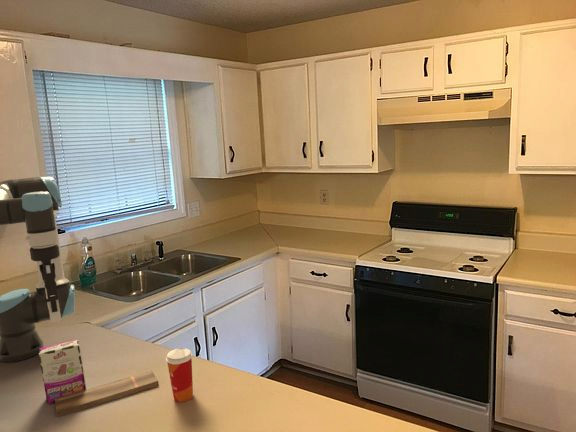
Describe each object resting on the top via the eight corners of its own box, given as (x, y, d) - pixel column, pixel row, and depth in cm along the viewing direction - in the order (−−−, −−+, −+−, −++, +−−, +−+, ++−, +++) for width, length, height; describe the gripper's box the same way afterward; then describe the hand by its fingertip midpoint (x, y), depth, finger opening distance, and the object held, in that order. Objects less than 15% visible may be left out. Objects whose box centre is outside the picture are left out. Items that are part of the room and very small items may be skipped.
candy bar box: (86, 386, 150) (79, 338, 147) (87, 394, 145) (79, 344, 142) (47, 396, 145) (39, 347, 142) (46, 404, 141) (38, 353, 137)
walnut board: (55, 403, 141) (54, 398, 141) (152, 374, 155) (151, 370, 154) (57, 416, 134) (56, 411, 134) (158, 385, 148) (158, 380, 148)
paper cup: (174, 390, 145) (169, 347, 142) (198, 389, 144) (194, 346, 142) (166, 404, 137) (161, 360, 134) (193, 404, 137) (188, 359, 134)
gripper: (28, 240, 145) (38, 305, 149) (30, 256, 124) (42, 331, 128) (55, 236, 149) (64, 299, 153) (61, 251, 127) (72, 324, 131)
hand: (54, 314), depth 140 cm, fingers open, 13 cm apart
